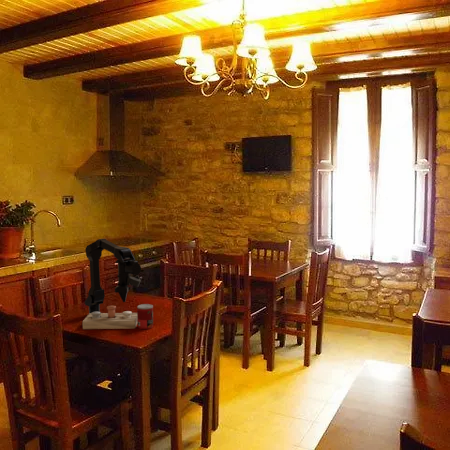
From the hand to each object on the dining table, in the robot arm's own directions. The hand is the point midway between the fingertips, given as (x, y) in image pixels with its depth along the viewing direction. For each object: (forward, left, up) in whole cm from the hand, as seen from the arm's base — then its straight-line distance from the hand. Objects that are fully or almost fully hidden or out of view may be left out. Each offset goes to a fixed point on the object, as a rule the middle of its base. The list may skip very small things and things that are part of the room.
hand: (124, 302), depth 234 cm
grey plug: (0, -15, -11) cm, 19 cm away
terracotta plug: (0, -7, -8) cm, 11 cm away
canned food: (+5, +11, -12) cm, 17 cm away
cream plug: (0, +1, -11) cm, 11 cm away
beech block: (0, -7, -12) cm, 14 cm away
